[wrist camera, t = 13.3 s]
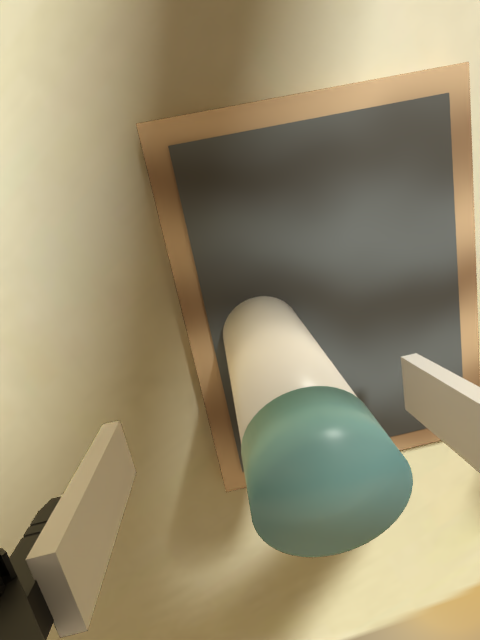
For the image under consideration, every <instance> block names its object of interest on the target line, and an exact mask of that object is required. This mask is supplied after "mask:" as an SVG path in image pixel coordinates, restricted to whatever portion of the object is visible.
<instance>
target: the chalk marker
mask: <svg viewBox="0 0 480 640" xmlns="http://www.w3.org/2000/svg"><path fill="white" fill-rule="evenodd" d="M223 340H224V346H225V352H226V358H227V364H228V370H229V375H230V381H231V387H232V393H233V399H234V405H235V411H236V416H237V422H238V428H239V434H240V440H241V456H242V462H243V468H244V474H245V480H246V486H247V492H248V498H249V504H250V510H251V516H252V522H253V525H254V528H255V530H256V531H257V533H258V535H259V536H260V537H261V538H262V539H263V541H265V542H266V543H267V544H268V545H270V546H271V547H273V548H275V549H276V550H279V551H281V552H283V553H287V554H290V555H295V556H301V557H323V556H330V555H335V554H340V553H343V552H347V551H350V550H352V549H355V548H357V547H360V546H362V545H364V544H366V543H368V542H369V541H371V540H373V539H374V538H376V537H377V536H379V535H380V534H382V533H383V532H384V531H385V530H387V529H388V528H389V527H390V526H391V525H392V524H393V523H394V522H395V521H396V520H397V519H398V517H399V516H400V515H401V513H402V512H403V510H404V509H405V507H406V505H407V503H408V501H409V498H410V495H411V492H412V485H413V479H412V472H411V468H410V466H409V464H408V462H407V460H406V459H405V457H404V456H403V455H402V453H401V452H400V451H399V449H398V448H397V447H396V445H395V444H394V443H393V441H392V440H391V439H390V437H389V436H388V435H387V433H386V432H385V431H384V429H383V428H382V427H381V425H380V424H379V423H378V421H377V420H376V419H375V417H374V416H373V415H372V413H371V412H370V410H369V409H368V408H367V406H366V405H365V404H364V403H363V402H362V401H361V400H360V399H359V398H358V397H357V396H356V394H355V393H354V392H353V390H352V389H351V388H350V386H349V385H348V384H347V382H346V381H345V380H344V378H343V377H342V375H341V374H340V373H339V371H338V370H337V369H336V367H335V366H334V365H333V363H332V362H331V361H330V359H329V358H328V357H327V355H326V354H325V352H324V351H323V350H322V348H321V347H320V346H319V344H318V343H317V342H316V340H315V339H314V338H313V336H312V335H311V334H310V332H309V331H308V329H307V328H306V327H305V325H304V324H303V323H302V321H301V320H300V319H299V317H298V316H297V315H296V313H295V312H294V311H293V309H292V308H291V307H290V306H289V305H288V304H287V303H285V302H284V301H282V300H280V299H277V298H274V297H269V296H259V297H254V298H250V299H248V300H245V301H244V302H242V303H240V304H239V305H238V306H236V307H235V308H234V309H233V310H232V311H231V313H230V314H229V316H228V317H227V319H226V321H225V324H224V328H223Z"/></svg>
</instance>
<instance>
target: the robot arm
mask: <svg viewBox="0 0 480 640" xmlns="http://www.w3.org/2000/svg"><path fill="white" fill-rule="evenodd" d="M401 366H402V378H403V389H404V401H405V410H406V411H408V412H409V413H410V414H411V415H412V416H413V417H415V418H416V419H417V420H418V421H419V422H421V423H422V424H423V425H424V426H425V427H426V428H428V429H429V430H430V431H431V432H432V433H433V434H435V435H436V436H437V437H438V438H439V439H441V440H442V441H443V442H444V443H445V444H446V445H448V446H449V447H450V448H451V449H452V450H453V451H455V452H456V453H457V454H458V455H459V456H460V457H462V458H463V459H464V460H465V461H466V462H468V463H469V464H470V465H471V466H472V467H473V468H475V469H476V470H477V471H478V472H479V473H480V387H479V386H477V385H475V384H473V383H471V382H469V381H467V380H465V379H464V378H462V377H460V376H458V375H456V374H454V373H452V372H451V371H449V370H447V369H445V368H443V367H441V366H439V365H438V364H436V363H434V362H432V361H430V360H428V359H426V358H424V357H423V356H421V355H419V354H417V353H415V354H411V355H406V356H402V357H401ZM135 475H136V470H135V466H134V463H133V460H132V457H131V454H130V451H129V448H128V444H127V441H126V438H125V435H124V432H123V429H122V426H121V422H120V420H119V421H114V422H110V423H105V424H103V425H102V426H101V428H100V430H99V432H98V433H97V435H96V437H95V439H94V440H93V442H92V444H91V446H90V447H89V449H88V451H87V453H86V454H85V456H84V458H83V460H82V461H81V463H80V465H79V467H78V468H77V470H76V472H75V474H74V475H73V477H72V479H71V481H70V482H69V484H68V486H67V488H66V489H65V491H64V493H63V495H62V496H61V497H57V498H53V499H51V500H50V501H49V502H48V503H47V504H46V505H45V506H44V507H43V508H42V509H41V510H40V511H39V512H38V513H37V515H36V516H35V518H34V520H33V521H32V523H31V524H30V525H31V526H30V527H29V528H28V529H27V531H26V532H25V534H24V538H22V539H21V540H20V542H19V544H18V545H17V547H16V548H15V550H14V552H13V553H12V555H11V556H10V558H9V557H8V555H7V552H6V551H5V550H3V549H1V548H0V640H46V639H47V636H48V634H49V631H50V629H51V627H52V624H53V623H54V625H55V628H56V630H57V632H58V634H59V637H60V638H62V637H66V636H69V635H73V634H77V633H81V632H85V631H88V629H89V625H90V622H91V619H92V615H93V612H94V609H95V606H96V602H97V599H98V596H99V593H100V589H101V586H102V583H103V580H104V576H105V573H106V570H107V567H108V563H109V560H110V557H111V553H112V550H113V547H114V544H115V540H116V537H117V534H118V531H119V527H120V524H121V521H122V518H123V514H124V511H125V508H126V504H127V501H128V498H129V495H130V491H131V488H132V485H133V482H134V478H135Z"/></svg>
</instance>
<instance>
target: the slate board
mask: <svg viewBox="0 0 480 640" xmlns="http://www.w3.org/2000/svg"><path fill="white" fill-rule="evenodd" d="M136 126H137V130H138V134H139V138H140V142H141V146H142V151H143V155H144V159H145V163H146V167H147V171H148V175H149V179H150V183H151V187H152V191H153V195H154V199H155V204H156V208H157V212H158V216H159V220H160V224H161V228H162V232H163V236H164V240H165V244H166V248H167V253H168V257H169V261H170V265H171V269H172V273H173V277H174V281H175V285H176V289H177V293H178V297H179V301H180V306H181V310H182V314H183V318H184V322H185V326H186V330H187V334H188V338H189V342H190V346H191V350H192V355H193V359H194V363H195V367H196V371H197V375H198V379H199V383H200V387H201V391H202V395H203V399H204V404H205V408H206V412H207V416H208V420H209V424H210V428H211V432H212V436H213V440H214V444H215V448H216V452H217V457H218V461H219V465H220V469H221V473H222V477H223V481H224V485H225V489H226V492H229V491H233V490H237V489H241V488H245V487H247V486H246V480H245V474H244V468H243V462H242V456H241V440H240V434H239V428H238V422H237V416H236V411H235V405H234V399H233V393H232V387H231V381H230V375H229V370H228V364H227V358H226V352H225V346H224V340H223V328H224V324H225V321H226V319H227V317H228V316H229V314H230V313H231V311H232V310H233V309H234V308H235V307H236V306H238V305H239V304H240V303H242V302H244V301H245V300H248V299H250V298H254V297H259V296H269V297H274V298H277V299H280V300H282V301H284V302H285V303H287V304H288V305H289V306H290V307H291V308H292V309H293V311H294V312H295V313H296V315H297V316H298V317H299V319H300V320H301V321H302V323H303V324H304V325H305V327H306V328H307V329H308V331H309V332H310V334H311V335H312V336H313V338H314V339H315V340H316V342H317V343H318V344H319V346H320V347H321V348H322V350H323V351H324V352H325V354H326V355H327V357H328V358H329V359H330V361H331V362H332V363H333V365H334V366H335V367H336V369H337V370H338V371H339V373H340V374H341V375H342V377H343V378H344V380H345V381H346V382H347V384H348V385H349V386H350V388H351V389H352V390H353V392H354V393H355V394H356V396H357V397H358V398H359V399H360V400H361V401H362V402H363V403H364V404H365V405H366V406H367V408H368V409H369V410H370V412H371V413H372V415H373V416H374V417H375V419H376V420H377V421H378V423H379V424H380V425H381V427H382V428H383V429H384V431H385V432H386V433H387V435H388V436H389V437H390V439H391V440H392V441H393V443H394V444H395V445H396V447H397V448H398V449H399V450H403V449H407V448H411V447H415V446H420V445H424V444H428V443H432V442H436V441H440V440H441V439H439V438H438V437H437V436H436V435H435V434H433V433H432V432H431V431H430V430H429V429H428V428H426V427H425V426H424V425H423V424H422V423H421V422H419V421H418V420H417V419H416V418H415V417H413V416H412V415H411V414H410V413H409V412H408V411H406V410H405V401H404V389H403V378H402V366H401V357H402V356H406V355H411V354H415V353H417V354H419V355H421V356H423V357H424V358H426V359H428V360H430V361H432V362H434V363H436V364H438V365H439V366H441V367H443V368H445V369H447V370H449V371H451V372H452V373H454V374H456V375H458V376H460V377H462V378H464V379H465V380H467V381H469V382H471V383H473V384H475V385H477V386H479V387H480V365H479V336H478V308H477V279H476V251H475V222H474V193H473V165H472V136H471V108H470V79H469V62H465V63H460V64H454V65H449V66H443V67H438V68H433V69H427V70H422V71H417V72H411V73H406V74H400V75H395V76H390V77H384V78H379V79H374V80H368V81H363V82H357V83H352V84H347V85H341V86H336V87H331V88H325V89H320V90H314V91H309V92H304V93H298V94H293V95H288V96H282V97H277V98H271V99H266V100H261V101H255V102H250V103H244V104H239V105H234V106H228V107H223V108H218V109H212V110H207V111H201V112H196V113H191V114H185V115H180V116H175V117H169V118H164V119H158V120H153V121H148V122H142V123H137V124H136Z"/></svg>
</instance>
